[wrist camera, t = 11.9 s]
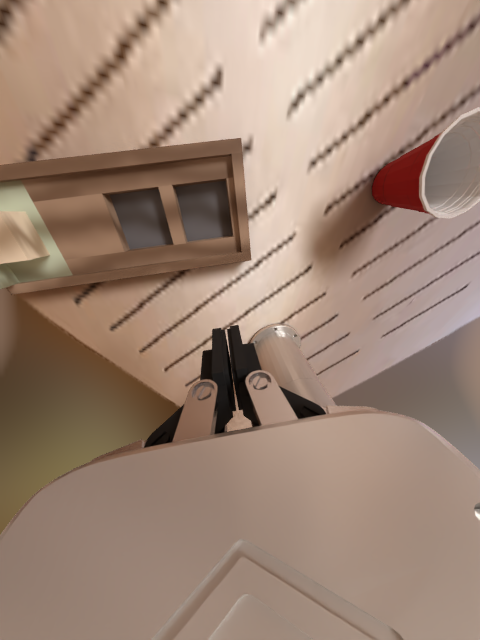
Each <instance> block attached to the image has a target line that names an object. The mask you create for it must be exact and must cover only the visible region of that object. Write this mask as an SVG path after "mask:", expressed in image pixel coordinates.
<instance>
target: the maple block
mask: <svg viewBox="0 0 480 640" xmlns="http://www.w3.org/2000/svg"><path fill="white" fill-rule="evenodd" d="M48 255H50V254H49V252H48V250H47V248H46V247H45V245H44V243H43V241H42V240H41V238H40V236H39V234H38V233H37V231H36V229H35V227H34V226H33V224H32V222H31V220H30V219H29V217H28V215H27V214H26V212H20V211H0V264H3V263H11V262H19V261H26V260H32V259H36V258H40V257H44V256H48Z"/></svg>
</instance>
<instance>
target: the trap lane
mask: <svg viewBox="0 0 480 640" xmlns="http://www.w3.org/2000/svg"><path fill="white" fill-rule="evenodd" d="M0 211H20V212H26V214H27V215H28V217H29V219H30V220H31V222H32V224H33V226H34V227H35V229H36V231H37V233H38V234H39V236H40V238H41V240H42V241H43V243H44V245H45V247H46V248H47V250H48V252H49V254H50V255H48V256H44V257H40V258H36V259H32V260H26V261H19V262H11V263H3V264H0V289H3V288H7V289H8V291H9V292H10V293H11V295H12V294H19V293H26V292H33V291H40V290H47V289H54V288H61V287H68V286H75V285H82V284H89V283H96V282H103V281H110V280H117V279H124V278H131V277H138V276H145V275H152V274H159V273H166V272H172V271H179V270H186V269H193V268H200V267H207V266H214V265H221V264H228V263H235V262H242V261H249V260H251V251H250V239H249V227H248V215H247V203H246V191H245V179H244V167H243V155H242V143H241V138H236V139H227V140H218V141H209V142H201V143H192V144H183V145H174V146H165V147H156V148H147V149H138V150H130V151H121V152H112V153H103V154H94V155H85V156H76V157H67V158H59V159H50V160H41V161H32V162H23V163H14V164H5V165H0Z"/></svg>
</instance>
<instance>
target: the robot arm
mask: <svg viewBox="0 0 480 640" xmlns="http://www.w3.org/2000/svg"><path fill="white" fill-rule="evenodd" d="M227 332H228V341H229V350H230V357H229V351H228V345H227V340H226V334H225V330H221V328H217V329H213V330H212V350H206V351H203V355H202V367H201V378H200V381H198V382H196V383H195V384H193V385H192V387H191V388H190V390H189V392H188V395H187V398H186V401H185V404H184V405H183V406H182V407H181V408H180V409H178V410H177V411H176V412H175V413H174V414H173V415H172V416H171V417H170V418H169V419H168V420H166V421H165V422H164V423H163V424H162V425H161V426H160V427H159V428H158V429H156V430H155V431H154V432H153V433H152V434H151V435H150V437H149V438H148V439H147V440H145V441H143V440H142V439H141V440H139V441H136V442H134V443H131V444H129V445H126V446H124V447H121V448H119V449H116V450H114V451H111V452H109V453H106V454H104V455H101V456H99V457H97V458H95V459H93V460H92V461H91V462H88V463H86V464H84V465H81V466H79V467H77V468H74V469H73V470H71V471H69V472H67V473H65V474H63V475H61V476H59V477H58V478H56V479H54V480H53V481H51V482H50V483H48V484H47V485H45V486H44V487H43V488H41V489H40V490H39V491H38V492H36V493H35V494H34V495H33V496H32V497H31V498H30V499H29V500H28V501H27V502H26V503H25V504H24V505H23V507H22V508H21V509H20V510H19V511H18V512H17V514H16V515H15V516H14V517H13V519H12V520H11V521H10V523H9V524H8V525H7V527H6V528H5V529H4V531H3V532H2V533H1V535H0V640H480V470H479V469H478V468H477V467H476V466H475V465H474V464H473V463H471V462H470V461H469V460H468V459H467V458H466V457H465V456H464V455H463V454H462V453H461V452H459V451H458V450H457V449H456V448H455V447H454V446H453V445H451V444H450V443H449V442H448V441H447V440H445V439H444V438H443V437H442V436H441V435H439V434H438V433H437V432H435V431H434V430H433V429H431V428H430V427H428V426H427V425H425V424H423V423H422V422H420V421H418V420H416V419H413V418H411V417H408V416H404V415H401V414H397V413H391V412H385V411H380V410H377V409H375V408H372V407H360V406H359V407H358V406H336V404H335V403H334V402H333V400H332V398H331V397H330V395H329V394H328V392H327V391H326V389H325V388H324V386H323V384H322V383H321V381H320V380H319V378H318V377H317V375H316V373H315V372H314V370H313V369H312V367H311V366H310V364H309V363H308V361H307V359H306V358H305V356H304V355H303V353H302V352H301V350H300V346H301V340H300V336H299V335H298V333H297V332H296V331H295V329H293V328H292V327H290V326H288V325H284V324H273V325H269V326H266V327H264V328H262V329H261V330H259V331H258V332H257V333H256V334H255V335H254V337H253V338H252V340H251V342H250V343H248V344H242V340H241V335H240V331H239V326H238V325H236V326H230V329H227ZM230 359H231V362H230ZM231 368H232V370H231ZM232 374H233V379H232ZM233 380H234V385H235V391H236V396H237V402H238V407H239V410H242V409H243V415H244V416H245V417H246V418H248V419H249V420H251V424H252V428H246V429H241V430H235V431H230V432H227V423H228V422H229V421H230V419H231V418H233V412H232V411H236V406H235V397H234V388H233Z"/></svg>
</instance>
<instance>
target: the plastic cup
mask: <svg viewBox="0 0 480 640" xmlns="http://www.w3.org/2000/svg"><path fill="white" fill-rule="evenodd" d="M372 195H373V197H374V199H375V200H376V201H377V202H379V203H381V204H386V205H391V206H393V207H399V208H405V209H411V210H416V211H419V212H425V213H429V214H431V215H432V216H434V217H436V218H453V217H455V216H457V215H460V214H462V213H464V212H467V211H468V210H469V209H470V208H472V207H473V206H474V205H475V204H476V203H478V202H479V201H480V107H479V108H476V109H474V110H472V111H470V112H467V113H465V114H463V115H461V116H460V117H458V118H457V119H456V120H455V121H454V122H453V123H452V124H451V125H450V126H448V127H447V128H446V129H445V130H444V131H443V132H442V133H440V134H439V135H437V136H435V137H434V138H433V139H431V140H430V141H428V142H426V143H424V144H422V145H421V146H419V147H417V148H415V149H413V150H412V151H410V152H408V153H406V154H404V155H403V156H401V157H400V158H398V159H397V160H395V161H393V162H391V163H389V164H387V165H386V166H385V167H384V168H382V169H381V170H380V171H379V172H378V174H377V176H376V177H375V179H374V182H373V186H372Z"/></svg>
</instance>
